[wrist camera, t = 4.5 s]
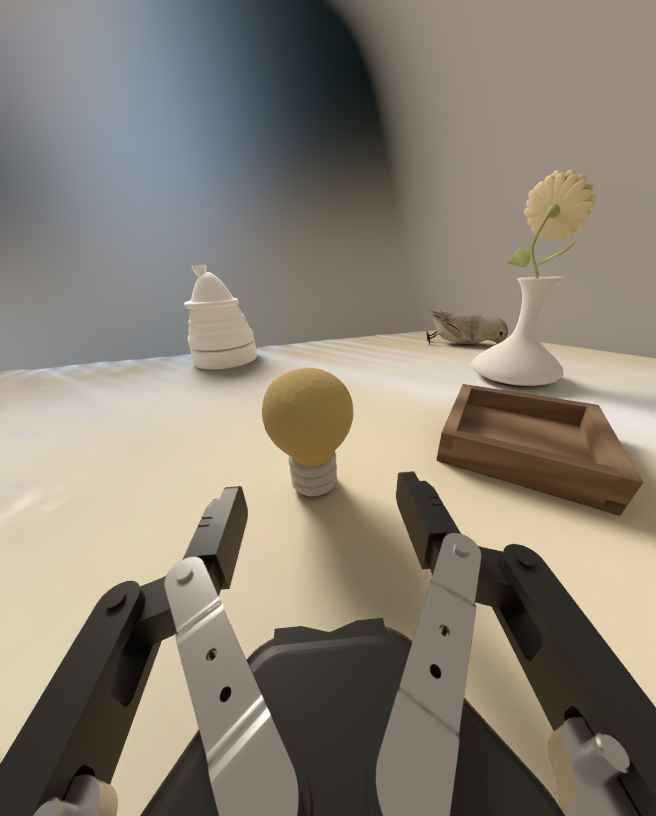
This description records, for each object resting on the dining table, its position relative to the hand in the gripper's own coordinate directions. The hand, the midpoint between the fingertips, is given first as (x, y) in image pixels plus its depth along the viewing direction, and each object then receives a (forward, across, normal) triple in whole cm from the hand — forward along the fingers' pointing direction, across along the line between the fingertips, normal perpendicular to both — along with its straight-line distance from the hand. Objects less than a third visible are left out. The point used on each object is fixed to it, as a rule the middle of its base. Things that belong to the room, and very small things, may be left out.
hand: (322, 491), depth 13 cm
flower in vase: (+26, +30, -6) cm, 40 cm away
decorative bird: (+46, +33, -6) cm, 57 cm away
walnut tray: (+10, +19, -6) cm, 22 cm away
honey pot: (+46, -19, -5) cm, 50 cm away
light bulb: (+7, -1, -6) cm, 9 cm away
